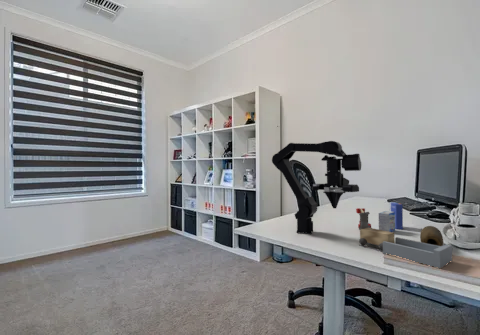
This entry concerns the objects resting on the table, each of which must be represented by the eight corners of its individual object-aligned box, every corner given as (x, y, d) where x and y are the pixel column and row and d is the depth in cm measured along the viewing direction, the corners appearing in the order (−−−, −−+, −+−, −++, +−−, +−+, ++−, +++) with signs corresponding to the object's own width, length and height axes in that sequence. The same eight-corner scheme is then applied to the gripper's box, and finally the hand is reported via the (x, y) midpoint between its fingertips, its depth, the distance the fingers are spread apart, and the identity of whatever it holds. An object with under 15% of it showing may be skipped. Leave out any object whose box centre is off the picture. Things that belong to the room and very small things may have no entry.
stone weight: (418, 240, 100) (417, 223, 100) (440, 243, 97) (440, 225, 97) (421, 250, 87) (421, 231, 88) (447, 254, 84) (447, 234, 84)
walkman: (402, 229, 117) (402, 203, 117) (396, 229, 118) (396, 203, 118) (395, 225, 125) (395, 201, 125) (389, 225, 126) (389, 201, 126)
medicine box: (389, 233, 110) (389, 213, 110) (378, 231, 114) (378, 212, 114) (395, 230, 115) (395, 211, 115) (384, 229, 119) (384, 210, 119)
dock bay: (356, 246, 92) (356, 232, 92) (370, 242, 98) (370, 229, 98) (439, 268, 71) (439, 251, 71) (452, 261, 77) (451, 245, 77)
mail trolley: (358, 244, 93) (358, 213, 93) (367, 241, 97) (367, 211, 97) (387, 251, 85) (386, 217, 85) (395, 248, 88) (395, 215, 88)
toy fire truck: (364, 234, 109) (363, 212, 109) (356, 227, 122) (355, 207, 122) (372, 235, 108) (372, 212, 108) (363, 227, 122) (363, 207, 122)
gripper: (365, 170, 104) (366, 208, 103) (325, 171, 119) (326, 204, 118) (351, 170, 97) (352, 211, 97) (310, 171, 112) (311, 206, 111)
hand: (334, 208), depth 106 cm, fingers closed
